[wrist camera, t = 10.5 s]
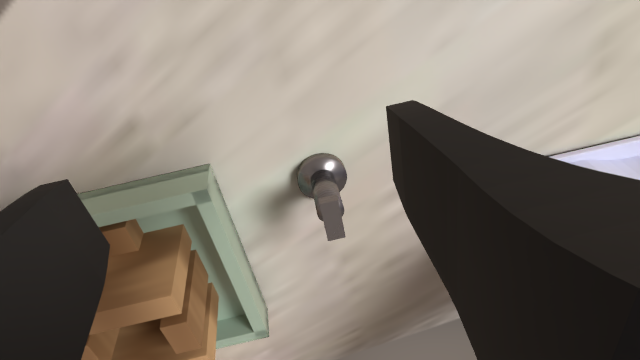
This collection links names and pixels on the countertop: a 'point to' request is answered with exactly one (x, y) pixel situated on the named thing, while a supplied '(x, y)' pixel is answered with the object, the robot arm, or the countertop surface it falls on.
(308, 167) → the lever
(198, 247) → the tray
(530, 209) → the robot arm
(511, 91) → the countertop surface
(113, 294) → the wooden blocks
